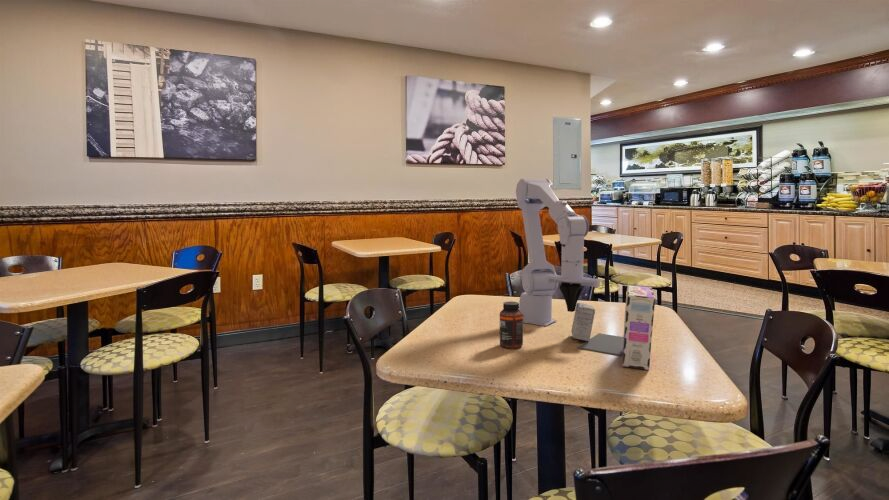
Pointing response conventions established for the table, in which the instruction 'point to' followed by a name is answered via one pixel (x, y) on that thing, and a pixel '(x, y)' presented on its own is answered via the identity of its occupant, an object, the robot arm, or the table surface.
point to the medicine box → (583, 321)
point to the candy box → (638, 326)
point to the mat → (604, 344)
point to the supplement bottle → (511, 326)
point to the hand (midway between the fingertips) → (571, 311)
